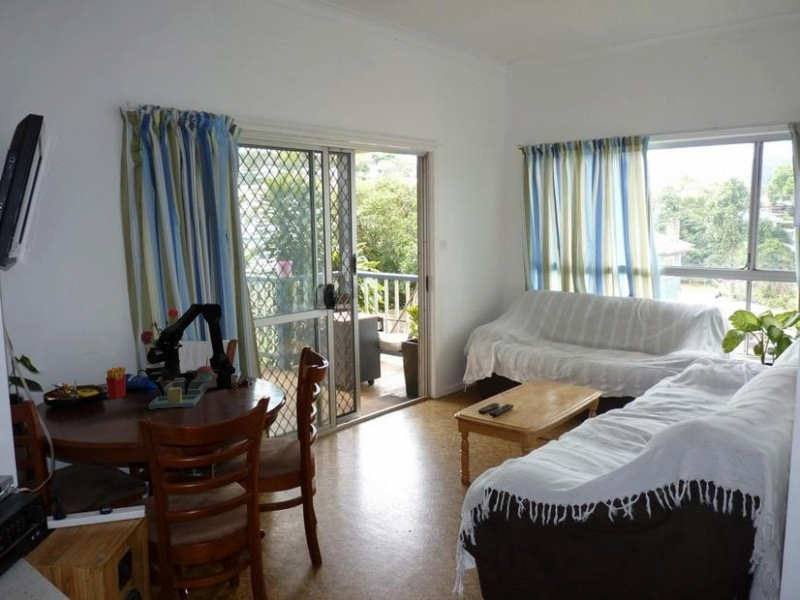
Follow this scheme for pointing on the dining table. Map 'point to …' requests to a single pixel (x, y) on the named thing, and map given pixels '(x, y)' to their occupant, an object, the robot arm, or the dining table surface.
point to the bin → (193, 386)
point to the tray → (163, 403)
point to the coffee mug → (153, 369)
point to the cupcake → (205, 372)
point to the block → (174, 395)
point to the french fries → (116, 382)
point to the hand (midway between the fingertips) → (174, 395)
